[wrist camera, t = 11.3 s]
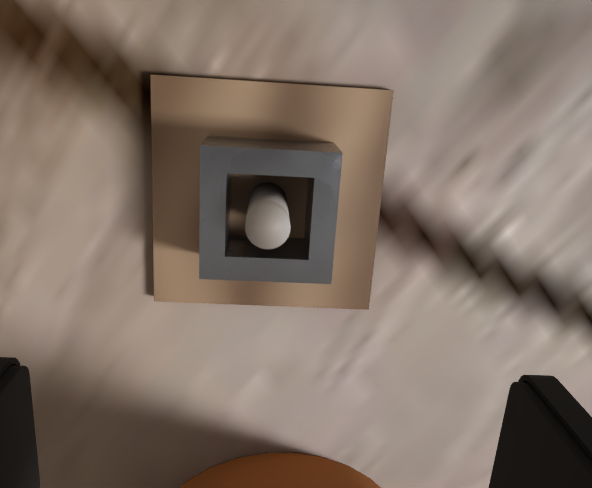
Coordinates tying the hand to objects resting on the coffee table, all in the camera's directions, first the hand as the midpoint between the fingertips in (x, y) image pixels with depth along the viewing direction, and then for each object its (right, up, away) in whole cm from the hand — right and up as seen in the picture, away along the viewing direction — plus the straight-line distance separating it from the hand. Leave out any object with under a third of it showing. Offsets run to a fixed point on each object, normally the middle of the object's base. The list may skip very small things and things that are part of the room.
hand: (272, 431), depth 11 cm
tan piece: (-1, +6, +19) cm, 20 cm away
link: (-1, +6, +18) cm, 19 cm away
